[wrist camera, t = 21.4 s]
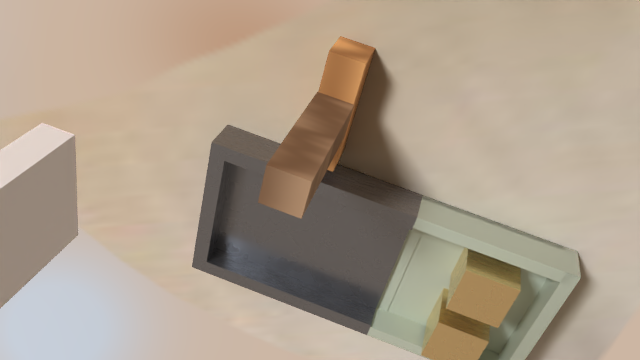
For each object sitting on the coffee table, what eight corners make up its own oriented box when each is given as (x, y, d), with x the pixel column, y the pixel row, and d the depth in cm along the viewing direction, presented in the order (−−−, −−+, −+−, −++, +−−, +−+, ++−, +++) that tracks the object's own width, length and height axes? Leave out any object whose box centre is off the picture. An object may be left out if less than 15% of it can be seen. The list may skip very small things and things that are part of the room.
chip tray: (577, 251, 45) (581, 277, 42) (505, 361, 52) (505, 388, 49) (422, 195, 46) (417, 217, 43) (374, 310, 53) (366, 335, 51)
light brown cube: (520, 255, 45) (520, 290, 42) (499, 292, 48) (497, 328, 44) (469, 237, 46) (465, 270, 43) (450, 274, 48) (446, 308, 45)
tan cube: (491, 305, 49) (489, 341, 45) (472, 337, 51) (468, 374, 48) (443, 287, 49) (438, 322, 46) (427, 320, 51) (420, 355, 48)
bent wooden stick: (376, 48, 41) (325, 134, 30) (343, 152, 46) (290, 257, 35) (339, 36, 41) (277, 117, 30) (311, 140, 46) (248, 242, 35)
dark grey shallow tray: (422, 195, 46) (417, 217, 43) (374, 310, 53) (366, 335, 51) (227, 124, 47) (211, 142, 45) (206, 246, 55) (192, 266, 52)
